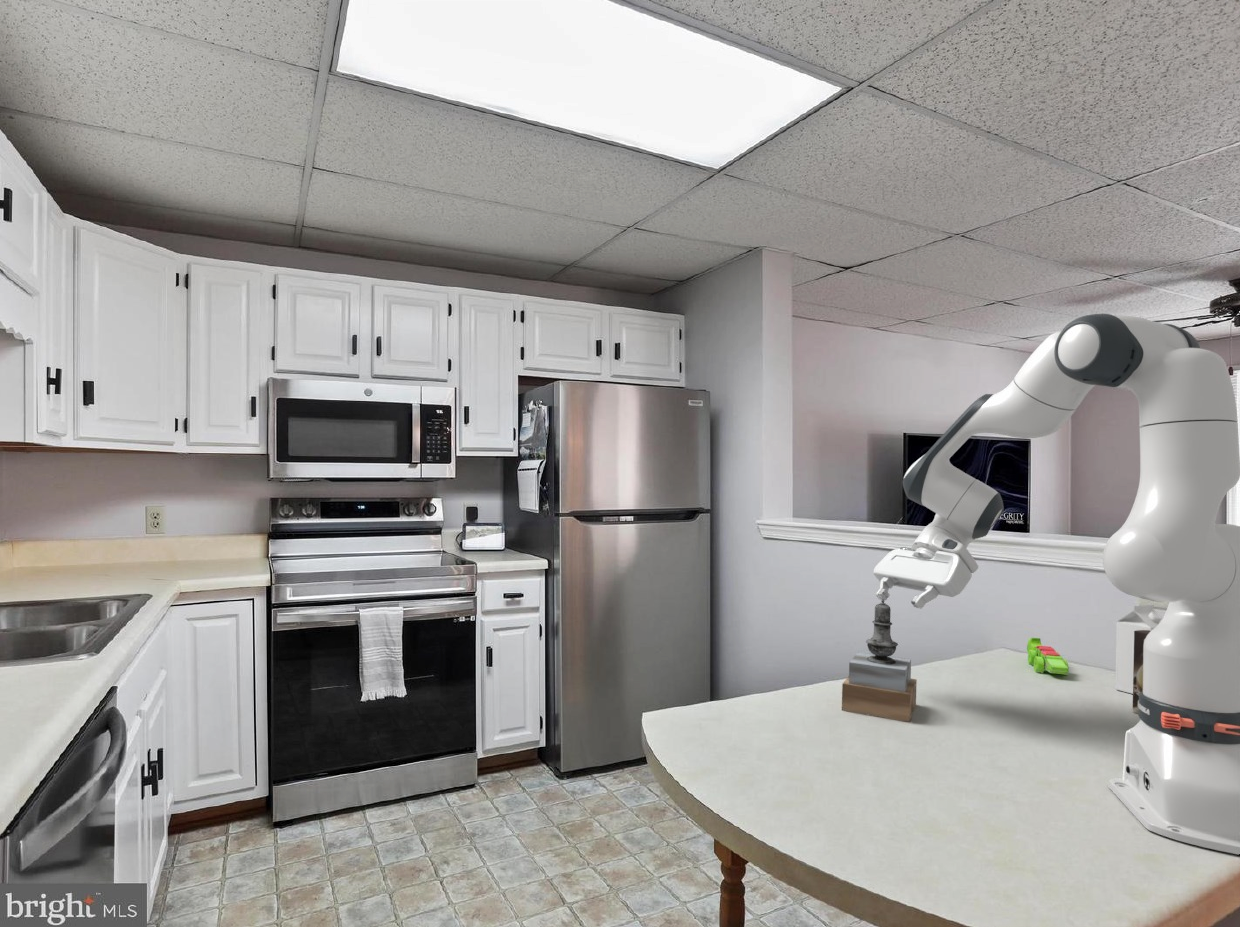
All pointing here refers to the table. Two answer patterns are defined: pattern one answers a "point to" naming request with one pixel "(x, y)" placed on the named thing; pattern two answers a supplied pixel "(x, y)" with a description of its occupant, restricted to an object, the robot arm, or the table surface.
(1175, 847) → the table surface
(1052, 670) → the toy crocodile
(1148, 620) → the milk carton
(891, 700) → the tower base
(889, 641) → the salt shaker
